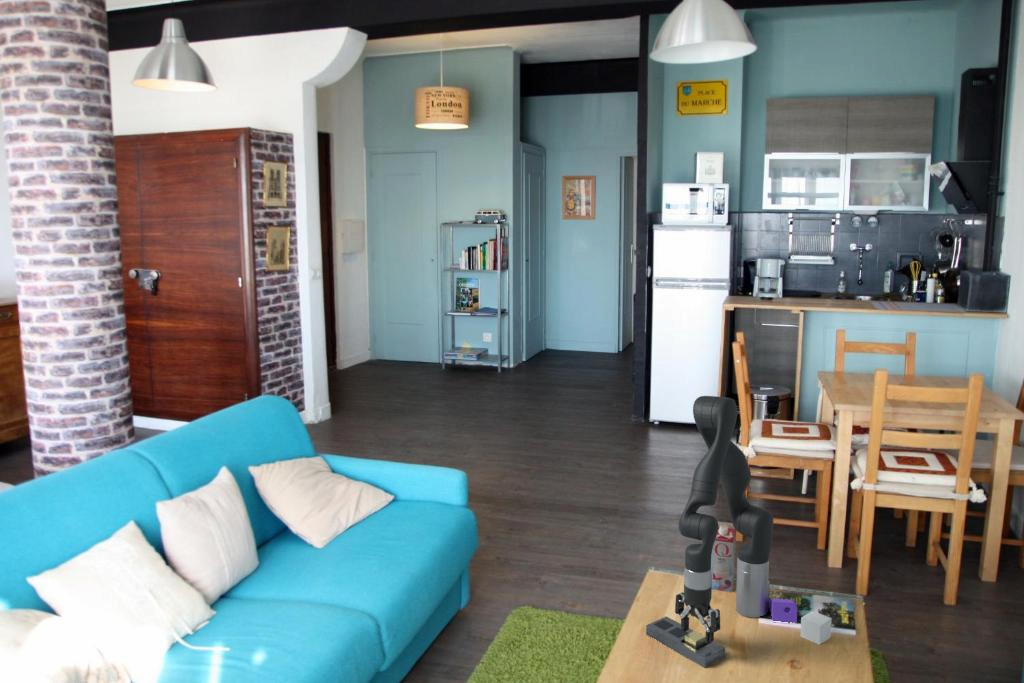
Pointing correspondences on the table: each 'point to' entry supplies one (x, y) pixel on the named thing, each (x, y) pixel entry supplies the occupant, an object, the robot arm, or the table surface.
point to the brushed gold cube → (695, 640)
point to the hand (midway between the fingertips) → (697, 636)
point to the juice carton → (723, 558)
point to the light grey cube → (816, 627)
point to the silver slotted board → (675, 639)
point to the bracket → (783, 610)
